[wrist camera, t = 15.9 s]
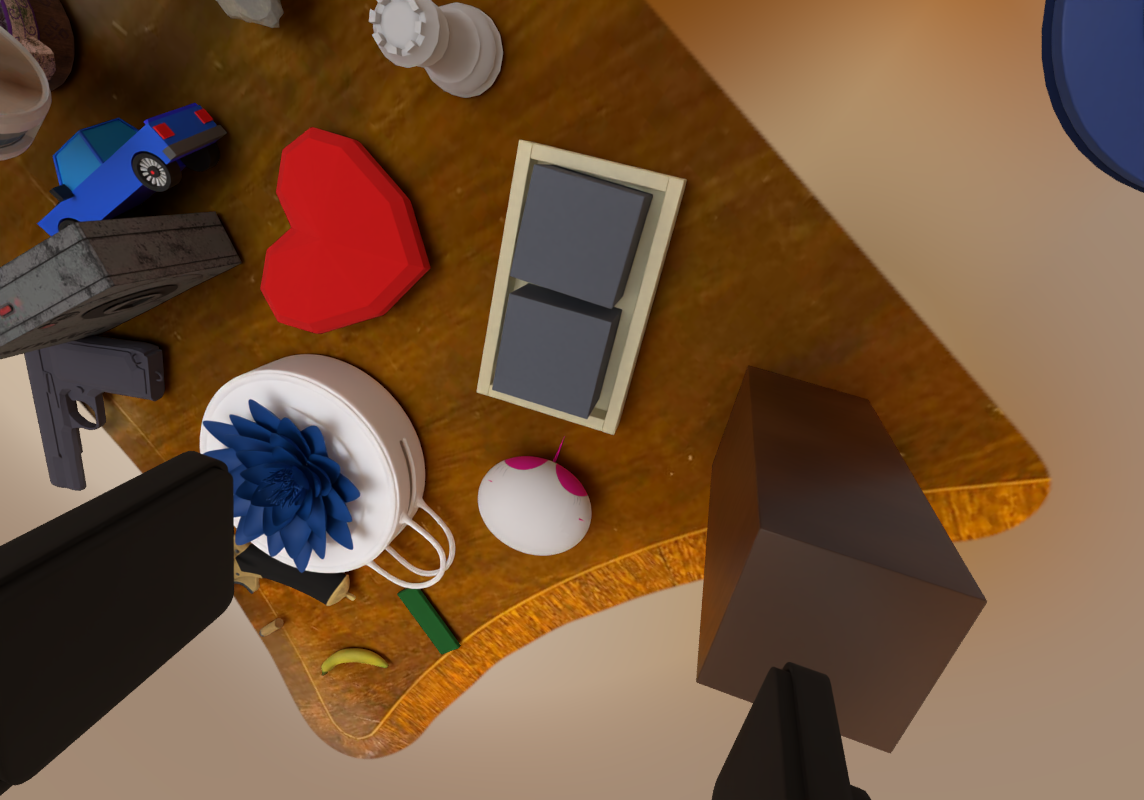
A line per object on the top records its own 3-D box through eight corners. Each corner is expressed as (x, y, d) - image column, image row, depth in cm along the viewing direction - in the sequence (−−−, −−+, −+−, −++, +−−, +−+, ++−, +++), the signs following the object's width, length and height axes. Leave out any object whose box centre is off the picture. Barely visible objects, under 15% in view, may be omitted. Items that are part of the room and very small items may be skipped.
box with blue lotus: (134, 490, 42) (354, 676, 43) (220, 331, 36) (476, 554, 37) (212, 449, 48) (402, 612, 49) (297, 307, 42) (513, 498, 43)
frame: (687, 179, 33) (684, 180, 31) (619, 423, 39) (613, 435, 37) (529, 141, 34) (519, 139, 33) (487, 382, 40) (476, 392, 39)
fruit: (380, 657, 50) (389, 685, 51) (387, 647, 51) (395, 675, 52) (309, 652, 52) (318, 679, 53) (317, 642, 53) (326, 669, 54)
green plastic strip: (418, 581, 48) (401, 589, 49) (414, 586, 47) (397, 594, 48) (462, 642, 49) (445, 648, 50) (458, 648, 48) (441, 654, 49)
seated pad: (622, 309, 36) (611, 322, 33) (599, 399, 38) (587, 419, 35) (528, 282, 37) (508, 293, 34) (511, 372, 39) (491, 390, 36)
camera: (97, 339, 47) (-55, 379, 38) (68, 291, 46) (-94, 321, 37) (246, 264, 42) (110, 290, 32) (217, 209, 41) (68, 219, 32)
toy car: (137, 230, 44) (76, 168, 42) (244, 143, 40) (182, 69, 37) (68, 268, 39) (-7, 200, 36) (182, 173, 34) (105, 89, 32)
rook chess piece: (418, 29, 34) (332, -10, 26) (488, -9, 32) (416, -61, 25) (449, 111, 35) (375, 95, 28) (518, 79, 33) (458, 53, 26)
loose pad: (653, 194, 33) (645, 196, 30) (622, 297, 36) (611, 309, 33) (552, 164, 34) (533, 163, 31) (528, 267, 37) (508, 276, 33)
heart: (462, 174, 38) (310, 128, 38) (441, 163, 33) (271, 112, 34) (419, 355, 40) (279, 311, 41) (395, 366, 36) (239, 317, 37)
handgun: (171, 344, 45) (26, 291, 46) (147, 356, 43) (-4, 300, 44) (182, 518, 54) (61, 471, 55) (163, 534, 52) (37, 486, 53)
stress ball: (612, 463, 44) (622, 454, 37) (568, 568, 42) (570, 578, 36) (516, 422, 44) (509, 405, 38) (470, 524, 43) (454, 526, 36)
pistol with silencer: (218, 670, 61) (129, 601, 58) (375, 575, 50) (277, 486, 47) (188, 709, 57) (91, 638, 54) (351, 616, 47) (242, 522, 44)
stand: (868, 399, 35) (988, 601, 18) (822, 500, 37) (891, 754, 21) (748, 365, 36) (760, 527, 19) (711, 466, 38) (695, 683, 22)
